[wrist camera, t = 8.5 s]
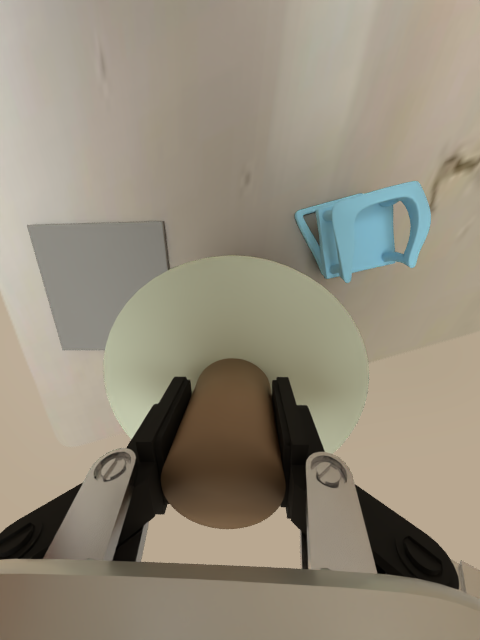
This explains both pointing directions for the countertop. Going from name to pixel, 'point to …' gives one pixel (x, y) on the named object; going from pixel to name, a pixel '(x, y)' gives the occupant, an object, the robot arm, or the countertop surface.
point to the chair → (365, 230)
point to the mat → (95, 273)
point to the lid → (234, 377)
